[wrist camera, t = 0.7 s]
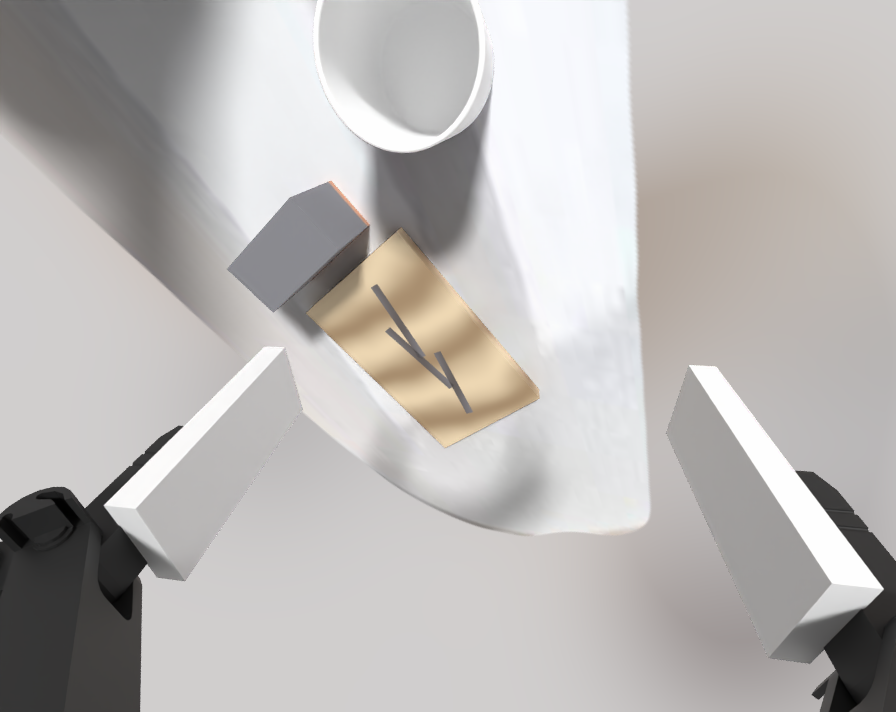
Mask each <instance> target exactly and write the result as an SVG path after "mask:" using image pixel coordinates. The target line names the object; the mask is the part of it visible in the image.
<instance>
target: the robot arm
mask: <svg viewBox="0 0 896 712" xmlns="http://www.w3.org/2000/svg"><path fill="white" fill-rule="evenodd" d="M302 410H303V408H302V405H301V401H300V398H299V394H298V391H297V387H296V384H295V381H294V377H293V374H292V370H291V367H290V363H289V360H288V356H287V353H286V349H285V347H264V348H263V349H262V350H261V351H260V352H259V353H258V354H256V355H255V356H254V357H253V358H252V359H251V360H250V361H249V362H248V363H247V364H246V365H245V367H243V369H241V370H240V371H239V372H238V373H237V374H236V376H234V377H233V378H232V379H231V380H230V381H229V382H228V383H227V384H226V385H225V386H224V387H223V388H222V389H221V390H220V391H219V392H218V393H217V394H216V395H215V396H214V397H213V398H212V399H211V400H210V401H209V402H208V403H207V404H206V405H205V406H204V407H203V408H202V409H201V410H200V411H199V412H198V413H197V414H196V415H195V416H194V417H193V418H192V419H191V420H190V421H189V422H188V423H187V424H186V425H185V426H177V427H176V428H174V429H173V430H171V431H170V432H168V433H166V434H164V435H163V436H161V437H160V438H158V440H156V441H155V442H154V443H153V444H152V445H151V446H150V447H149V448H148V449H147V450H146V451H145V454H142V455H141V456H140V457H139V458H137V459H136V460H135V461H134V462H133V465H132V466H129V467H128V468H127V469H126V470H125V471H124V472H123V473H122V474H121V475H120V476H119V477H117V479H115V480H114V482H112V483H111V484H110V485H109V486H108V487H107V488H106V489H105V490H104V491H103V492H102V493H101V494H100V495H99V496H98V497H96V498H95V499H94V500H93V501H92V502H91V503H90V504H89V505H88V506H87V507H86V508H84V507H83V506H82V504H81V503H80V502H79V501H78V499H77V498H76V497H75V495H74V494H73V493H72V492H71V491H70V490H69V489H67V488H65V487H51V488H47V489H43V490H39V491H37V492H34V493H32V494H30V495H28V496H25V497H23V498H22V499H20V500H18V501H17V502H15V503H14V504H12V505H11V506H9V507H8V508H7V509H5V510H4V511H3V512H2V513H1V514H0V538H1V539H2V540H3V541H2V542H0V712H140V684H141V679H140V678H141V618H142V616H141V615H142V584H141V580H140V578H139V577H138V575H139V573H140V572H141V571H142V569H143V568H144V567H145V565H147V564H148V566H149V567H150V568H151V570H152V571H153V572H154V574H155V575H156V576H157V577H158V578H165V579H172V580H180V581H185V580H186V579H187V578H188V576H189V575H190V573H191V572H192V570H193V569H194V567H195V566H196V564H197V563H198V561H199V560H200V559H201V557H202V556H203V554H204V553H205V551H206V550H207V548H208V547H209V545H210V544H211V542H212V541H213V540H214V538H215V537H216V535H217V533H218V532H219V531H220V529H221V528H222V526H223V525H224V523H225V522H226V521H227V519H228V518H229V516H230V515H231V513H232V512H233V510H234V509H235V507H236V506H237V504H238V503H239V502H240V500H241V499H242V497H243V496H244V494H245V493H246V491H247V490H248V488H249V487H250V485H251V484H252V483H253V481H254V480H255V478H256V477H257V475H258V474H259V472H260V471H261V469H262V468H263V467H264V465H265V464H266V462H267V460H268V459H269V458H270V456H271V455H272V453H273V452H274V450H275V449H276V448H277V446H278V445H279V443H280V442H281V440H282V439H283V437H284V436H285V434H286V433H287V431H288V430H289V429H290V427H291V425H292V424H293V423H294V421H295V420H296V418H297V417H298V415H299V414H300V412H301V411H302ZM666 434H667V436H668V438H669V440H670V443H671V445H672V447H673V449H674V452H675V454H676V456H677V458H678V460H679V463H680V465H681V467H682V469H683V471H684V474H685V476H686V478H687V480H688V482H689V484H690V487H691V489H692V491H693V493H694V495H695V498H696V500H697V502H698V504H699V506H700V509H701V511H702V513H703V515H704V518H705V520H706V522H707V524H708V526H709V528H710V531H711V533H712V535H713V537H714V540H715V542H716V544H717V546H718V548H719V551H720V553H721V555H722V557H723V559H724V561H725V564H726V566H727V568H728V570H729V573H730V575H731V577H732V579H733V581H734V584H735V586H736V588H737V590H738V592H739V595H740V597H741V599H742V601H743V603H744V605H745V608H746V610H747V612H748V614H749V617H750V619H751V621H752V623H753V625H754V628H755V630H756V632H757V634H758V636H759V638H760V640H761V643H762V645H763V647H764V650H765V652H766V654H767V656H768V658H772V659H779V660H786V661H794V662H801V663H809V664H810V663H811V662H812V661H813V660H814V659H815V658H816V657H817V656H818V655H819V654H820V653H821V652H822V651H823V650H824V649H825V651H826V653H827V655H828V657H829V658H830V660H831V662H832V664H833V665H834V667H835V669H836V670H835V671H834V672H833V673H832V674H831V675H830V676H829V677H828V678H826V679H825V680H824V681H823V682H822V683H821V684H820V685H819V686H818V687H817V688H816V689H815V691H814V692H813V694H812V695H813V696H814V697H815V698H817V699H820V698H821V697H822V696H823V695H824V694H825V695H824V698H823V702H822V706H821V709H820V712H896V561H895V560H894V558H893V557H892V556H891V555H890V554H889V552H888V551H887V550H886V549H885V548H884V546H883V545H882V544H881V543H880V542H879V540H878V539H877V538H876V537H875V535H874V534H873V533H872V532H869V531H868V527H867V526H866V525H865V524H864V522H863V521H862V520H861V519H860V518H859V516H858V515H855V514H854V510H853V509H852V508H851V507H850V505H849V504H848V503H847V502H846V500H845V499H844V498H843V497H842V496H841V494H840V493H839V492H838V491H837V490H836V489H835V488H833V487H832V486H831V485H830V484H828V483H827V482H826V481H824V480H823V479H821V478H820V477H819V476H818V475H816V474H815V473H814V472H807V471H794V469H793V468H792V467H791V465H790V464H789V463H788V461H787V460H786V459H785V457H784V456H783V455H782V454H781V452H780V451H779V449H778V448H777V447H776V445H775V444H774V443H773V441H772V440H771V439H770V438H769V436H768V435H767V434H766V432H765V431H764V430H763V428H762V427H761V426H760V424H759V423H758V422H757V421H756V419H755V418H754V416H753V415H752V414H751V412H750V411H749V410H748V408H747V407H746V406H745V404H744V403H743V402H742V400H741V399H740V398H739V397H738V395H737V394H736V393H735V391H734V390H733V388H732V387H731V386H730V384H729V383H728V382H727V381H726V379H725V378H724V377H723V375H722V374H721V373H720V371H719V370H718V369H717V367H714V366H692V365H689V366H688V370H687V372H686V375H685V378H684V381H683V384H682V387H681V390H680V393H679V396H678V399H677V402H676V405H675V408H674V411H673V414H672V417H671V420H670V423H669V426H668V429H667V432H666Z"/></svg>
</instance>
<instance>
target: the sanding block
mask: <svg viewBox="0 0 896 712" xmlns="http://www.w3.org/2000/svg"><path fill="white" fill-rule="evenodd" d="M368 226H369V223H368V222H367V221H366V220H365V219H364V218H363V217H362V215H361V214H360V213H359V212H358V211H357V210H356V209H355V207H354V206H353V205H352V204H351V203H350V202H349V201H348V199H347V198H346V197H345V196H344V195H343V194H342V193H341V192H340V190H339V189H338V188H337V187H336V186H335V185H334V184H333V182H332V181H329V182H327V183H324V184H322V185H319V186H317V187H315V188H312V189H310V190H307V191H305V192H302V193H300V194H297V195H295V196H293V197H290V198H289V199H288V200H287V202H286V203H285V204H284V205H283V206H282V207H281V208H280V210H279V211H278V212H277V213H276V214H275V215H274V216H273V217H272V219H271V220H270V221H269V222H268V223H267V224H266V225H265V227H264V228H263V229H262V230H261V231H260V232H259V233H258V234H257V236H256V237H255V238H254V239H253V240H252V241H251V242H250V244H249V245H248V246H247V247H246V248H245V249H244V250H243V251H242V253H241V254H240V255H239V256H238V257H237V258H236V259H235V261H234V262H233V263H232V264H231V265H230V266H229V267H228V269H227V270H228V271H230V272H231V273H232V274H233V275H234V276H235V277H236V278H237V279H238V280H239V281H240V282H241V283H242V284H243V285H245V286H246V287H247V288H248V289H249V290H250V291H251V292H252V293H253V294H254V295H255V296H256V297H257V298H258V299H259V300H261V301H262V302H263V303H264V304H265V305H266V306H267V307H268V308H269V309H270V310H271V311H272V312H274V311H276V310H277V309H278V308H279V307H280V306H282V305H283V304H284V303H285V302H286V301H287V300H289V299H290V298H291V297H292V296H293V295H294V294H296V293H297V292H298V291H299V290H300V289H301V288H303V287H304V286H305V285H306V284H307V283H309V282H310V281H311V280H312V279H313V278H314V277H315V276H316V275H317V274H318V273H319V272H320V271H321V270H323V269H324V268H325V267H326V266H327V265H328V264H329V263H330V262H331V261H332V260H333V259H334V258H335V257H336V256H337V255H338V254H339V253H341V252H342V251H343V250H344V249H345V248H346V247H347V246H348V245H349V244H350V243H351V242H352V241H353V240H354V239H355V238H356V237H357V236H359V235H360V234H361V233H362V232H363V231H364V230H365V229H366V228H367V227H368Z"/></svg>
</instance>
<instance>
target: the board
mask: <svg viewBox="0 0 896 712" xmlns="http://www.w3.org/2000/svg"><path fill="white" fill-rule="evenodd" d="M306 314H307V315H308V316H309V317H310V318H311V319H312V320H313V321H314V322H315V323H316V324H317V325H318V326H320V327H321V328H322V329H323V330H324V331H325V332H326V333H327V334H328V335H329V336H330V337H331V338H332V339H333V340H334V341H335V342H336V343H337V344H338V345H339V346H340V347H341V348H342V349H343V350H344V351H345V352H346V353H347V354H348V355H349V356H351V357H352V358H353V359H354V360H355V361H356V362H357V363H358V364H359V365H360V366H361V367H362V368H363V369H364V370H365V371H366V372H367V373H368V374H369V375H370V376H371V377H372V378H373V379H374V380H375V381H376V382H377V383H378V384H379V385H380V386H382V387H383V388H384V389H385V390H386V391H387V392H388V393H389V394H390V395H391V396H392V397H393V398H394V399H395V400H396V401H397V402H398V403H399V404H400V405H401V406H402V407H403V408H404V409H405V410H406V411H407V412H408V413H409V414H410V415H412V416H413V417H414V418H415V419H416V420H417V421H418V422H419V423H420V424H421V425H422V426H423V427H424V428H425V429H426V430H427V431H428V432H429V433H430V434H431V435H432V436H433V437H434V438H435V439H436V440H437V441H438V442H439V443H440V444H441V445H443V446H444V447H445V448H446V447H448V446H450V445H452V444H454V443H456V442H458V441H460V440H461V439H463V438H465V437H467V436H469V435H471V434H473V433H475V432H477V431H479V430H480V429H482V428H484V427H486V426H488V425H490V424H492V423H494V422H496V421H498V420H499V419H501V418H503V417H505V416H507V415H509V414H511V413H513V412H515V411H517V410H518V409H520V408H522V407H524V406H526V405H528V404H530V403H532V402H534V401H536V400H538V399H539V389H538V388H537V386H536V385H535V384H534V383H533V382H532V381H531V379H530V378H529V377H528V376H527V375H526V373H525V372H524V371H523V370H522V369H521V368H520V366H519V365H518V364H517V363H516V362H515V361H514V359H513V358H512V357H511V356H510V355H509V353H508V352H507V351H506V350H505V349H504V348H503V346H502V345H501V344H500V343H499V342H498V341H497V339H496V338H495V337H494V336H493V335H492V333H491V332H490V331H489V330H488V329H487V328H486V326H485V325H484V324H483V323H482V322H481V320H480V319H479V318H478V317H477V316H476V315H475V313H474V312H473V311H472V310H471V309H470V308H469V306H468V305H467V304H466V303H465V302H464V300H463V299H462V298H461V297H460V296H459V295H458V293H457V292H456V291H455V290H454V289H453V288H452V286H451V285H450V284H449V283H448V282H447V280H446V279H445V278H444V277H443V276H442V275H441V273H440V272H439V271H438V270H437V269H436V268H435V266H434V265H433V264H432V263H431V262H430V260H429V259H428V258H427V257H426V256H425V255H424V253H423V252H422V251H421V250H420V249H419V248H418V246H417V245H416V244H415V243H414V242H413V240H412V239H411V238H410V237H409V236H408V235H407V233H406V232H405V231H404V230H403V229H402V228H400V229H398V230H397V231H396V232H395V233H394V234H393V235H392V236H391V237H390V238H388V239H387V240H386V241H385V242H384V243H383V244H382V245H381V246H380V247H378V248H377V249H376V250H375V251H374V252H373V253H372V254H371V255H369V256H368V257H367V258H366V259H365V260H364V261H363V262H362V263H361V264H359V265H358V266H357V267H356V268H355V269H354V270H353V271H352V272H351V273H349V274H348V275H347V276H346V277H345V278H344V279H343V280H342V281H340V282H339V283H338V284H337V285H336V286H335V287H334V288H333V289H332V290H330V291H329V292H328V293H327V294H326V295H325V296H324V297H323V298H322V299H320V300H319V301H318V302H317V303H316V304H315V305H314V306H313V307H312V308H311V309H310V310H309V311H308V312H307V313H306Z"/></svg>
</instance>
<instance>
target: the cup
mask: <svg viewBox="0 0 896 712" xmlns="http://www.w3.org/2000/svg"><path fill="white" fill-rule="evenodd" d="M313 49H314V57H315V64H316V68H317V72H318V76H319V79H320V82H321V85H322V88H323V90H324V93H325V95H326V97H327V99H328V101H329V103H330V105H331V106H332V108H333V110H334V111H335V113H336V114H337V115H338V117H339V118H340V119H341V121H342V122H343V123H344V124H345V125H346V126H347V127H348V128H349V129H350V130H351V131H352V132H353V133H354V134H355V135H356V136H358V137H359V138H361V139H362V140H363V141H365V142H367V143H368V144H370V145H372V146H374V147H377V148H379V149H382V150H385V151H390V152H396V153H412V152H418V151H422V150H425V149H428V148H431V147H433V146H435V145H437V144H439V143H441V142H443V141H445V140H447V139H449V138H451V137H453V136H455V135H457V134H458V133H460V132H462V131H463V130H464V129H466V128H467V127H468V126H469V125H470V124H471V123H472V122H473V121H474V120H475V119H476V118H477V116H478V115H479V114H480V112H481V111H482V109H483V107H484V105H485V103H486V101H487V99H488V96H489V93H490V90H491V87H492V82H493V75H494V52H493V46H492V41H491V37H490V34H489V31H488V28H487V25H486V23H485V20H484V17H483V15H482V12H481V9H480V7H479V4H478V2H477V0H318V2H317V6H316V10H315V17H314V25H313Z"/></svg>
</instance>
